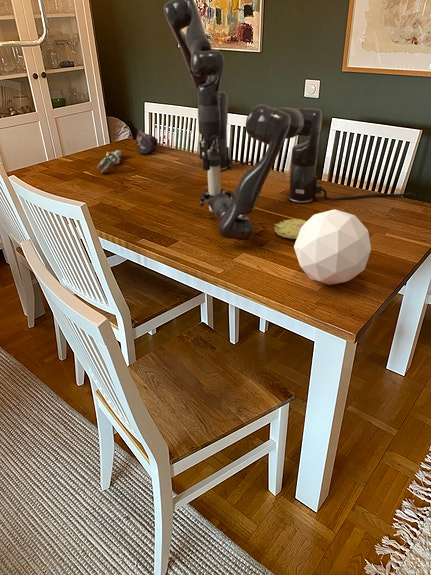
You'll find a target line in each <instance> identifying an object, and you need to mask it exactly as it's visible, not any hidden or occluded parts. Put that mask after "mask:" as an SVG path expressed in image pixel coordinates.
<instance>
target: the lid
mask: <svg viewBox="0 0 431 575" xmlns="http://www.w3.org/2000/svg"><path fill="white" fill-rule="evenodd" d="M219 165H221V157H219V156H210V166H219Z"/></svg>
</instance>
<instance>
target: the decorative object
mask: <svg viewBox="0 0 431 575" xmlns="http://www.w3.org/2000/svg"><path fill="white" fill-rule="evenodd" d="M307 221H308V220H304V219H303V218H292V219H283V221H279V223H274V227H273V229H274V233H276V234H277V236H279V237H282V238H284V239H285V238H286V239H290V240H297V237H298V234H299V232H300V229H301V227H302V226H303V225H304V224H305V223H306V222H307Z"/></svg>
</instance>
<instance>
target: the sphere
mask: <svg viewBox="0 0 431 575" xmlns="http://www.w3.org/2000/svg"><path fill="white" fill-rule="evenodd" d="M306 221H307V222H306V223H305V224H304V225H303V226H302V227H301V229H300V232H299V234H298V237H297V239H295V242H294V244H293V249H294V252H295V255H296V258H297V261H298V265H299V266H300V269H302V271H303V272H304V273H305V275H306V276H307V277H308V278H309V279H310V280H312V281H316V282H319V283H322V284H325V285H328V286H331V285H336V284H342V283H346V282H348V281H351V280H352V279H354V278H356V277H357V276H358V275H359V274H361V273H362V272H363V271H364V270H365V269H366V266H367V264H368V260H369V257H370V254H371V252H372V245H371V239H370V234H369V233H370V232H369V230H368V228H366V226H365V225H364V224H363V223H362V221H361V220H360V219H359V218H358V217H357V216H356V215H355V214H351V213H349V212H345V211H342V210H338V209H335V208H334V209H331V210H327V211H322V212H318V213H315V214H313V215H312V216H311V217H310V218H309V219H308V220H306Z"/></svg>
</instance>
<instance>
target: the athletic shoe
mask: <svg viewBox="0 0 431 575" xmlns="http://www.w3.org/2000/svg"><path fill="white" fill-rule="evenodd" d="M158 141H159V140H158V139H157V138H156V137H155V136H153V135H152V134H149V133H146V132H143V131H142V130H137V132H136V137H135V145H137V150H138V152H139V153H140V154H142V155H144V154H150V153H152V152H153V151H154V150H155V149H156V146H158V145H159V146H160V145H162V143H160V142H158Z"/></svg>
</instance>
